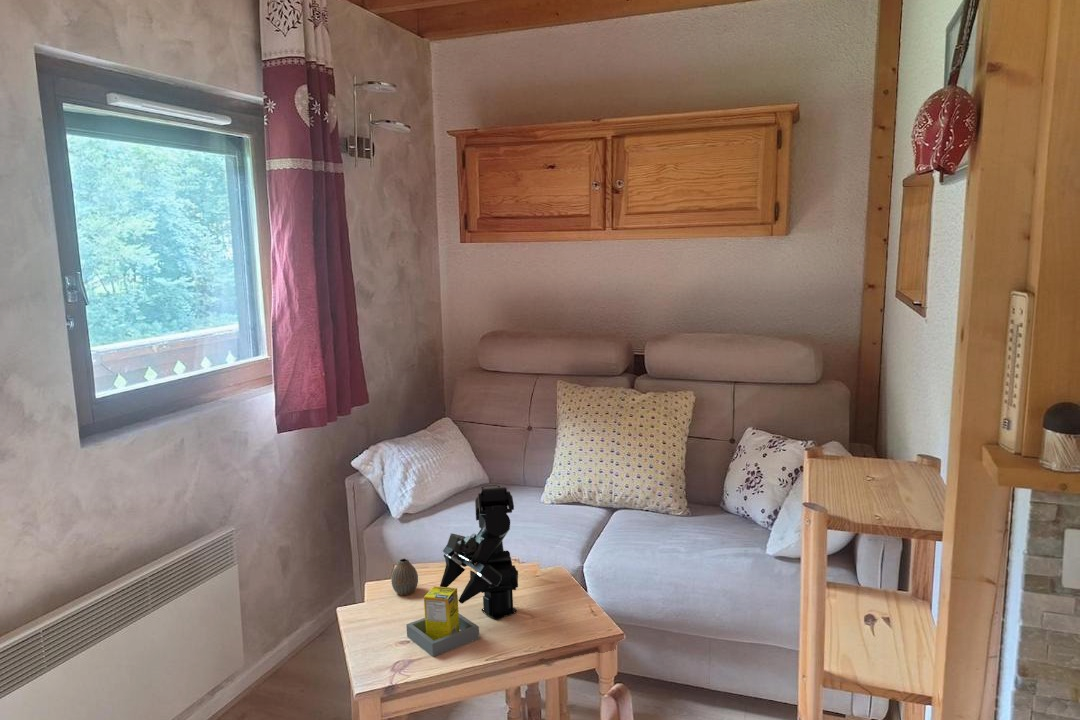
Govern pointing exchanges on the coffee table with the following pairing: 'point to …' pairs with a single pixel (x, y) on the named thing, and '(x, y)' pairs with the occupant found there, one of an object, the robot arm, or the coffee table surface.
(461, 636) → the collar
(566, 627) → the coffee table surface
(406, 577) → the vase
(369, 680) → the coffee table surface
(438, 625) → the supplement box
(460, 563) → the robot arm
